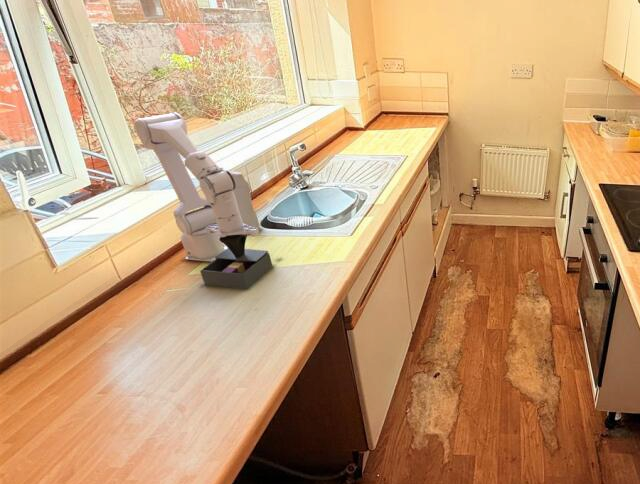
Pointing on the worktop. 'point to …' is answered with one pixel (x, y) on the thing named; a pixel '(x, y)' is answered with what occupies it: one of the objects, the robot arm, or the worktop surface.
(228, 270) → the chocolate
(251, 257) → the flap
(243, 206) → the tall pale column
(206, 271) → the carton
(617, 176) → the worktop surface
